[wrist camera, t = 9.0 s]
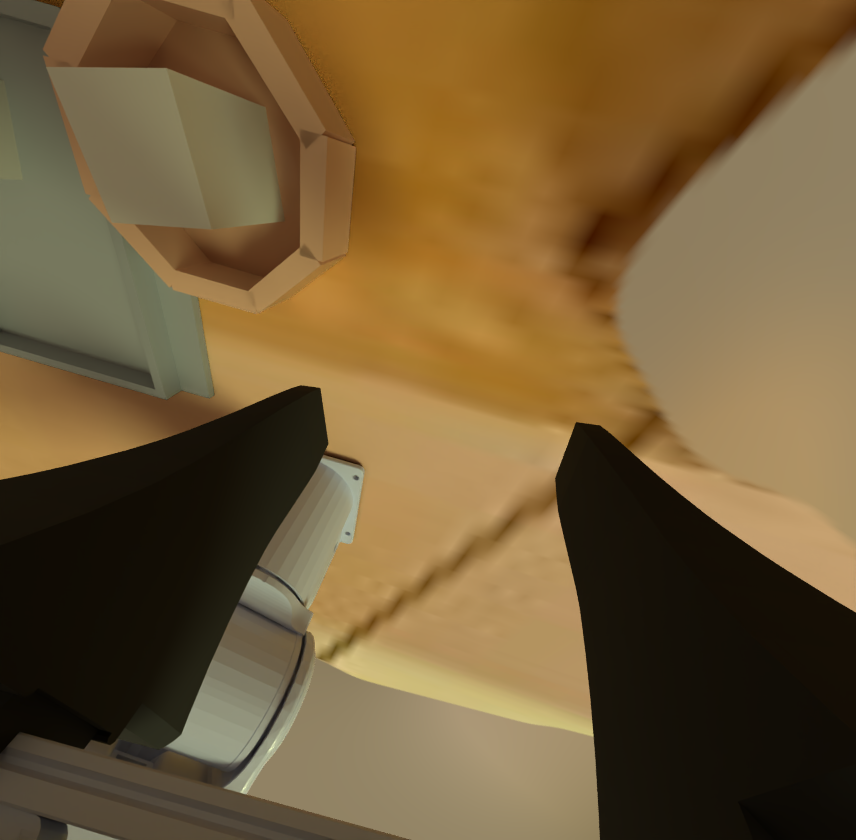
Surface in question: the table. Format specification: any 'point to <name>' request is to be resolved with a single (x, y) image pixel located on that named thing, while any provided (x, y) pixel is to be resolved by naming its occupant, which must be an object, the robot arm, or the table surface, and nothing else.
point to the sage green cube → (171, 148)
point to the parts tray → (78, 250)
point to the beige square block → (7, 141)
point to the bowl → (288, 123)
